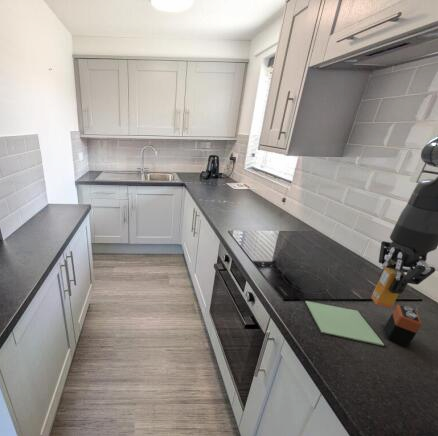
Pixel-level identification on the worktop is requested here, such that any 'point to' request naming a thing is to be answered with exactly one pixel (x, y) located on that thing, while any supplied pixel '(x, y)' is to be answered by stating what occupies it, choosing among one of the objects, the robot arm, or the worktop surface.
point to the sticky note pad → (342, 323)
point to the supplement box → (385, 289)
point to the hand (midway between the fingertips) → (388, 286)
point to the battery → (403, 325)
